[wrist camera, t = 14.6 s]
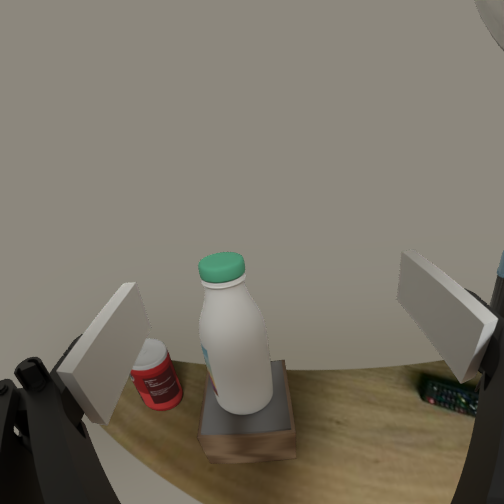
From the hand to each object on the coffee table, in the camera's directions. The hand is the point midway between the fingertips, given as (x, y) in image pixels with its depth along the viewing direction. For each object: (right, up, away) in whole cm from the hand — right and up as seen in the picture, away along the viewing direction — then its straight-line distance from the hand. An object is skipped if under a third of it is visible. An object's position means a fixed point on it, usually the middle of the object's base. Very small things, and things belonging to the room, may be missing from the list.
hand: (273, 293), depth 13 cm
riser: (-1, -25, +25) cm, 35 cm away
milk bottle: (-2, -18, +22) cm, 28 cm away
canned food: (-17, -24, +32) cm, 43 cm away
